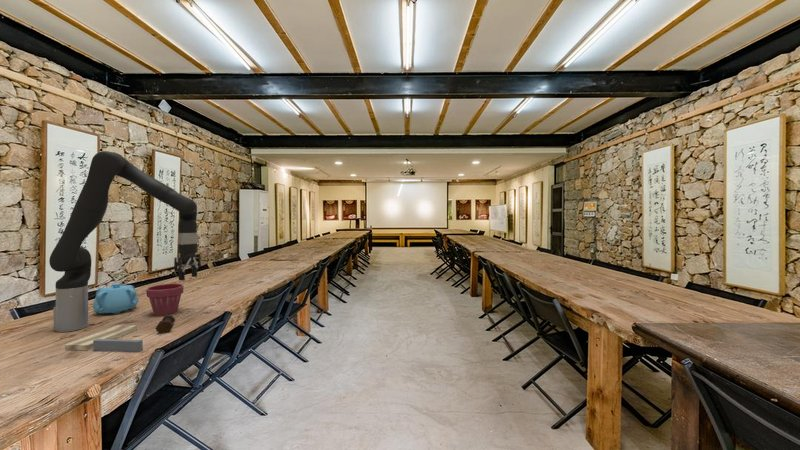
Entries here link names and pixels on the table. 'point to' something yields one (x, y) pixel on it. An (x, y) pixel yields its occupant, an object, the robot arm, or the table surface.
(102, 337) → the birch board
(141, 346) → the bar
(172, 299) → the plant pot
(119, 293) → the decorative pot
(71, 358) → the table surface
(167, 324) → the brown dumbbell
